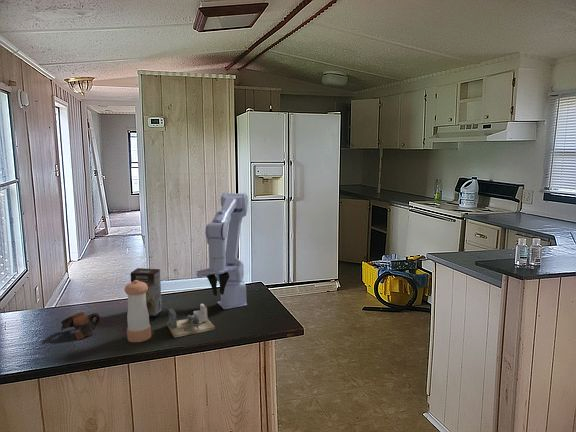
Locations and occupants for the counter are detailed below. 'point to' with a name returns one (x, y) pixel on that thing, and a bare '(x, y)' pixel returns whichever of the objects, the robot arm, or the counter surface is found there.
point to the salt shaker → (137, 312)
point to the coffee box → (150, 288)
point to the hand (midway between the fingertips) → (218, 294)
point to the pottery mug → (82, 324)
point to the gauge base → (190, 327)
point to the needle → (195, 321)
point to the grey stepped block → (199, 314)
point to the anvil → (172, 318)
